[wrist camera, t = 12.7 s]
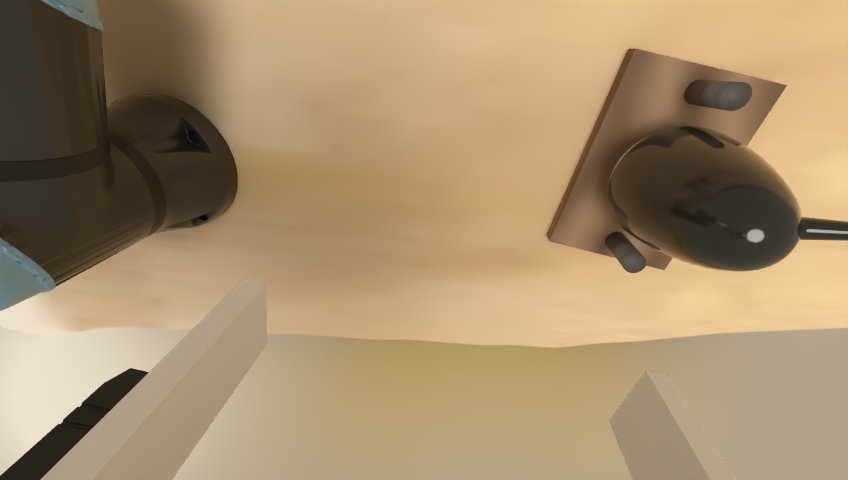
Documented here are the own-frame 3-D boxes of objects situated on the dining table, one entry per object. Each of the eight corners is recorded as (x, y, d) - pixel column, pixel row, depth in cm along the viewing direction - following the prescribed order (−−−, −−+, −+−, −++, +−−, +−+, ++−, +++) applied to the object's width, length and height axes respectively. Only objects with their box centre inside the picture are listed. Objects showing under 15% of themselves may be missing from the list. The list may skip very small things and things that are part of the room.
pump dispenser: (701, 217, 34) (847, 314, 21) (591, 226, 36) (661, 320, 23) (725, 111, 30) (930, 148, 17) (598, 127, 32) (690, 171, 18)
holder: (546, 235, 39) (559, 264, 33) (628, 49, 30) (665, 45, 24) (657, 263, 39) (690, 297, 33) (772, 84, 30) (844, 89, 24)
